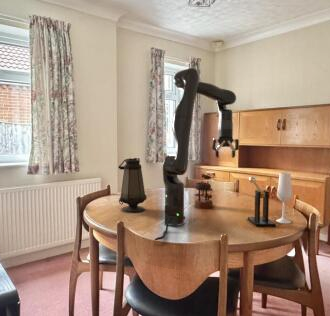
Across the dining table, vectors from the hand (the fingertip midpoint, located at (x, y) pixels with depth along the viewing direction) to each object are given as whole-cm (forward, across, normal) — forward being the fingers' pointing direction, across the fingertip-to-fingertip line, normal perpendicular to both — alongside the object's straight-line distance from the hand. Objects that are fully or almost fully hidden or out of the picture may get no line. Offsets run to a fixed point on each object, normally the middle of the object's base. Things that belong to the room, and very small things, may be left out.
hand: (225, 157), depth 165 cm
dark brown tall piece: (+30, -10, +10) cm, 34 cm away
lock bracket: (+30, +12, -23) cm, 40 cm away
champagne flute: (+30, +24, -21) cm, 44 cm away
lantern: (+30, -52, +3) cm, 60 cm away
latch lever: (+15, +12, -16) cm, 25 cm away
